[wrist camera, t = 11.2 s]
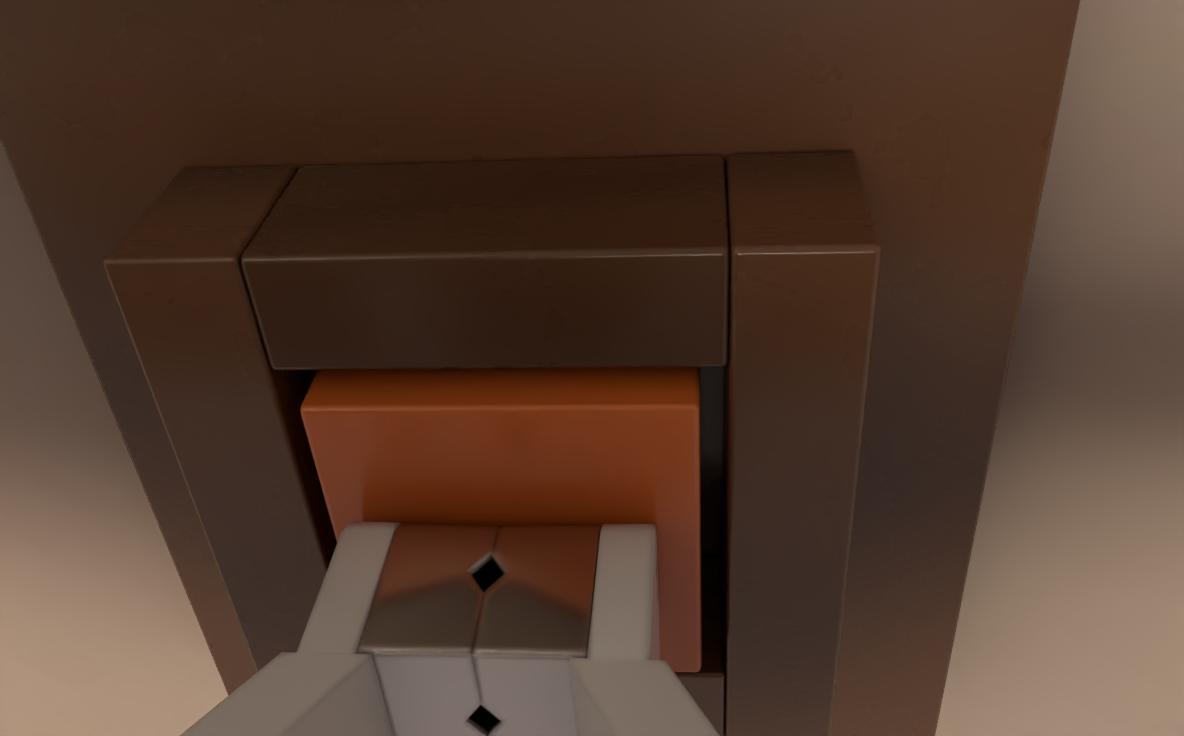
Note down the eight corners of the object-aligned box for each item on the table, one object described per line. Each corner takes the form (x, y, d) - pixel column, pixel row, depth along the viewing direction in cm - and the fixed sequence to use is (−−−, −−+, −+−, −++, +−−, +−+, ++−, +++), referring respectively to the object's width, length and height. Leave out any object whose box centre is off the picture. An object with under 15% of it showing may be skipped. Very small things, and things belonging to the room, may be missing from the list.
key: (346, 303, 11) (296, 408, 10) (698, 298, 11) (700, 407, 9) (404, 551, 13) (369, 669, 12) (701, 554, 13) (701, 675, 12)
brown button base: (-35, -155, 10) (-262, -70, 8) (1076, -220, 9) (1212, -145, 7) (269, 672, 17) (200, 851, 15) (918, 685, 16) (957, 880, 14)
